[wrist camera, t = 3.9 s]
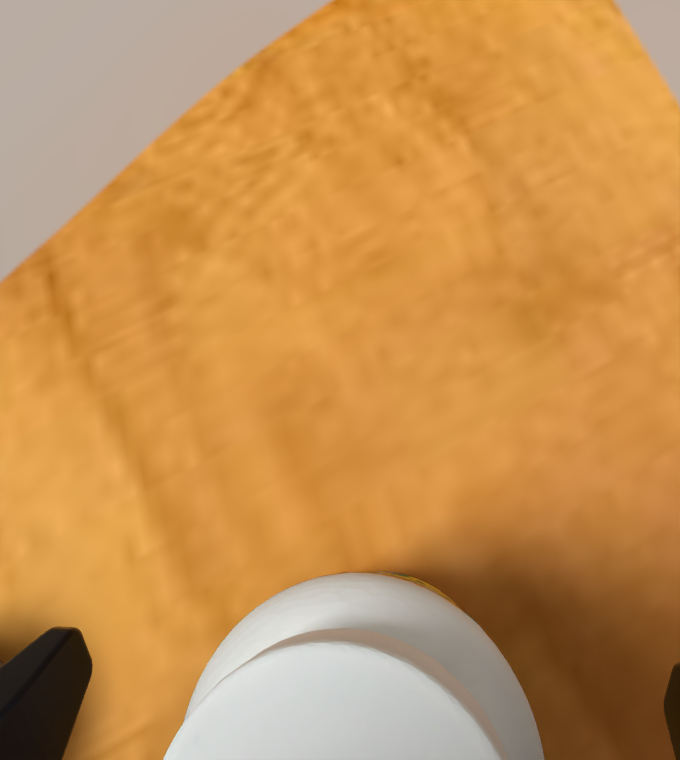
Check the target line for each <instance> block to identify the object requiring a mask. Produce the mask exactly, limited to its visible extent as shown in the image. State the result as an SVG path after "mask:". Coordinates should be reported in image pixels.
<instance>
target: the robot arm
mask: <svg viewBox="0 0 680 760" xmlns="http://www.w3.org/2000/svg"><path fill="white" fill-rule="evenodd" d="M91 674H92V659H91V656H90V654H89V651H88V648H87V646H86V643H85V641H84V638H83V635H82V633H81V631H80V630H79V629H77V628H74V627H53V628H51V629H49V630H48V631H46V632H45V633H44V634H42V635H41V636H40V637H38V638H37V639H36V640H35V641H33V642H32V643H31V644H29V645H28V646H27V647H26V648H24V649H23V650H22V651H20V652H19V653H18V654H17V655H15V656H14V657H13V658H11V659H10V660H9V661H8V662H6V663H5V664H4V665H2V666H1V667H0V760H62V758H63V755H64V753H65V750H66V747H67V744H68V741H69V738H70V735H71V732H72V730H73V727H74V724H75V721H76V718H77V715H78V712H79V710H80V707H81V704H82V701H83V698H84V695H85V692H86V689H87V687H88V684H89V681H90V678H91ZM664 712H665V718H666V722H667V726H668V730H669V734H670V738H671V742H672V746H673V750H674V754H675V758H676V760H680V662H679V663H677V664H675V665H674V667H673V669H672V673H671V676H670V680H669V683H668V687H667V690H666V694H665V698H664Z"/></svg>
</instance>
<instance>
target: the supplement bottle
mask: <svg viewBox="0 0 680 760" xmlns="http://www.w3.org/2000/svg"><path fill="white" fill-rule="evenodd" d="M163 760H545V759H544V754H543V748H542V743H541V740H540V736H539V732H538V728H537V724H536V721H535V718H534V716H533V713H532V710H531V707H530V705H529V702H528V700H527V698H526V695H525V693H524V691H523V689H522V687H521V685H520V683H519V681H518V679H517V677H516V676H515V674H514V672H513V670H512V669H511V667H510V665H509V664H508V662H507V661H506V659H505V658H504V656H503V655H502V653H501V652H500V650H499V649H498V648H497V646H496V645H495V644H494V642H493V641H492V640H491V639H490V638H489V637H488V636H487V634H486V633H485V632H484V630H483V629H482V628H481V627H480V626H479V624H478V623H477V622H476V621H475V620H474V619H472V618H471V617H470V616H469V615H467V614H466V613H465V612H464V611H463V610H462V609H461V608H460V607H459V606H458V605H457V604H456V603H454V602H453V601H452V600H451V599H450V598H449V597H448V596H446V595H445V594H443V593H442V592H441V591H440V590H438V589H436V588H435V587H433V586H432V585H430V584H428V583H426V582H424V581H422V580H419V579H417V578H414V577H411V576H408V575H404V574H398V573H394V572H382V571H378V572H343V573H338V574H333V575H326V576H322V577H317V578H314V579H311V580H307V581H304V582H301V583H299V584H297V585H294V586H292V587H289V588H287V589H285V590H283V591H281V592H279V593H277V594H276V595H274V596H272V597H271V598H270V599H268V600H267V601H265V602H264V603H262V604H261V605H259V606H258V607H256V608H255V609H254V610H253V611H252V612H250V613H249V614H248V615H247V616H246V617H245V618H243V619H242V620H241V621H240V622H239V623H238V624H237V625H236V626H235V627H234V628H233V629H232V630H231V632H230V633H229V634H228V635H227V637H226V638H225V639H224V640H223V641H222V643H221V644H220V645H219V647H218V648H217V650H216V651H215V653H214V654H213V656H212V657H211V659H210V660H209V662H208V664H207V665H206V667H205V669H204V671H203V673H202V675H201V677H200V678H199V681H198V683H197V685H196V688H195V690H194V693H193V695H192V697H191V700H190V703H189V706H188V709H187V712H186V716H185V719H184V723H183V725H182V726H181V728H180V729H179V731H178V732H177V734H176V735H175V737H174V739H173V741H172V743H171V745H170V746H169V748H168V750H167V752H166V754H165V756H164V759H163Z"/></svg>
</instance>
